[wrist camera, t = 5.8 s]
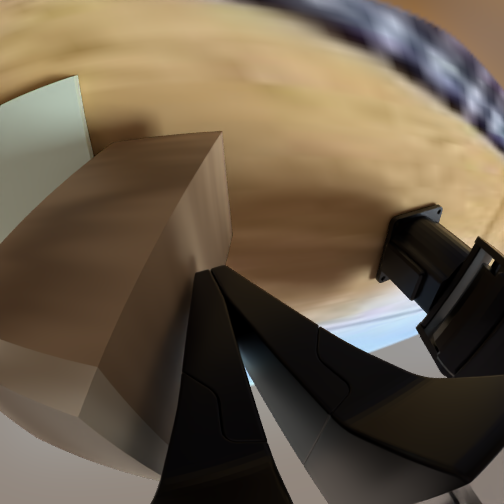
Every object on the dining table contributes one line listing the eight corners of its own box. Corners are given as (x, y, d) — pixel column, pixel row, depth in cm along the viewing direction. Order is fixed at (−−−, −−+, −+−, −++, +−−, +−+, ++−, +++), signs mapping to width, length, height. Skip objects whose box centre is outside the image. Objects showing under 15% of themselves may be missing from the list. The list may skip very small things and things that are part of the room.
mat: (77, 75, 10) (73, 76, 9) (136, 289, 17) (137, 300, 16) (-92, 162, 7) (-102, 169, 6) (-8, 327, 14) (-11, 338, 13)
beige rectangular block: (222, 131, 12) (78, 417, 3) (232, 234, 15) (178, 485, 6) (112, 142, 12) (-72, 341, 3) (137, 234, 15) (36, 437, 7)
